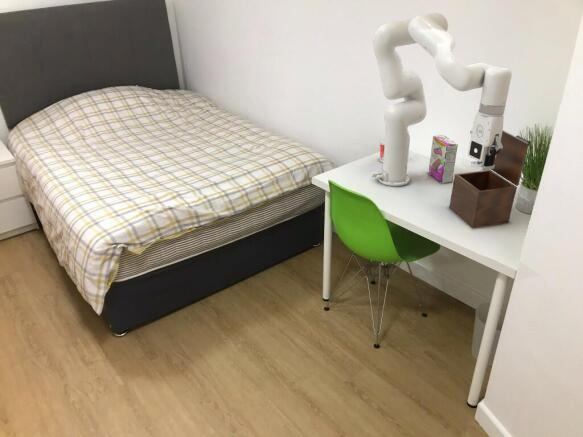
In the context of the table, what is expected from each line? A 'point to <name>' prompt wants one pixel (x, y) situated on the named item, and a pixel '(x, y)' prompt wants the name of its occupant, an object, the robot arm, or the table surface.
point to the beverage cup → (382, 149)
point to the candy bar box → (442, 158)
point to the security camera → (478, 154)
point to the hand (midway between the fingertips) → (481, 161)
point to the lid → (511, 157)
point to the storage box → (482, 198)
